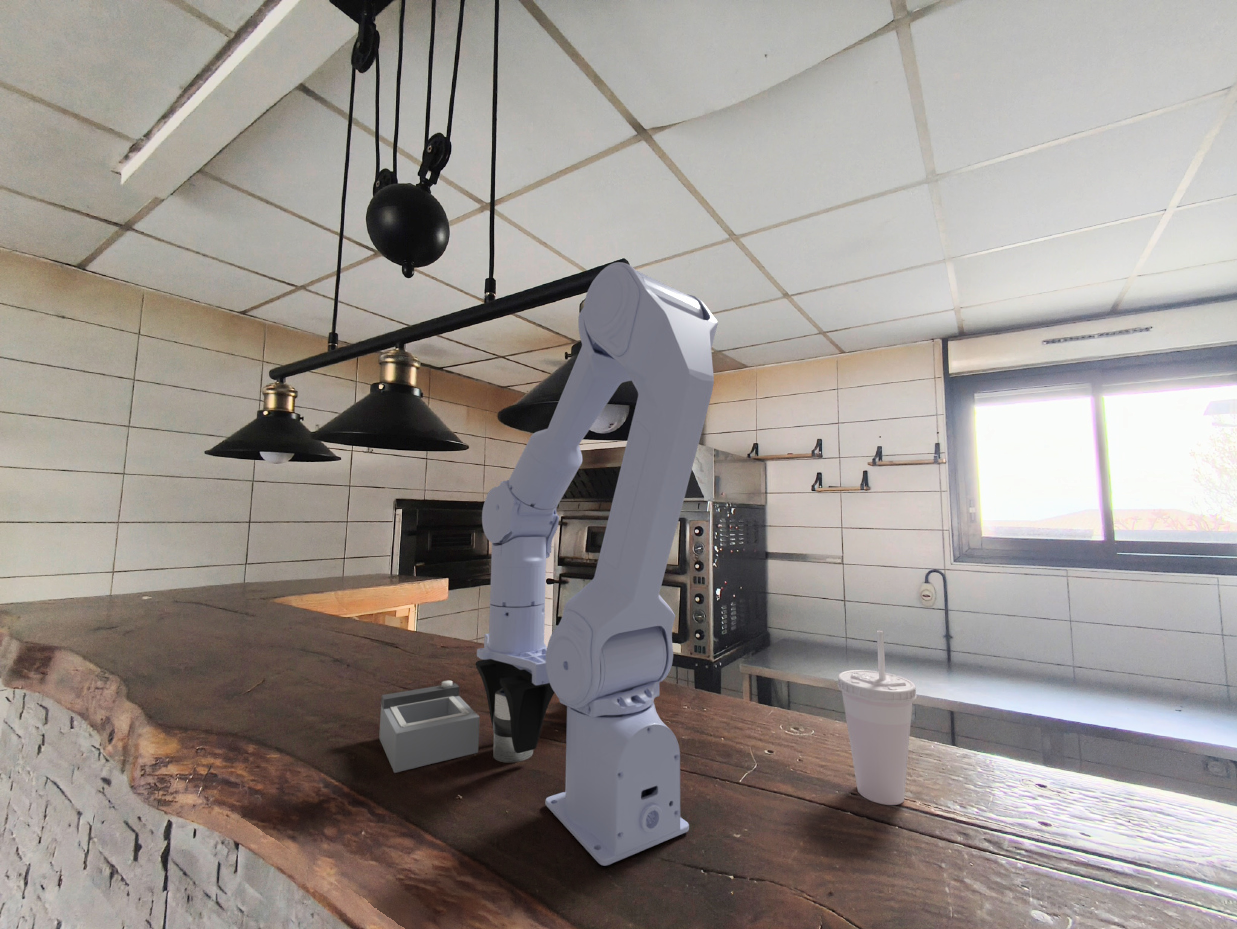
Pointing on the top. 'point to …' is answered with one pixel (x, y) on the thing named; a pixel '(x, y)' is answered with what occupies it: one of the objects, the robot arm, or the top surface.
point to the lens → (504, 733)
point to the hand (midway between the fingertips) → (513, 738)
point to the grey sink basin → (427, 726)
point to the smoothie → (878, 728)
